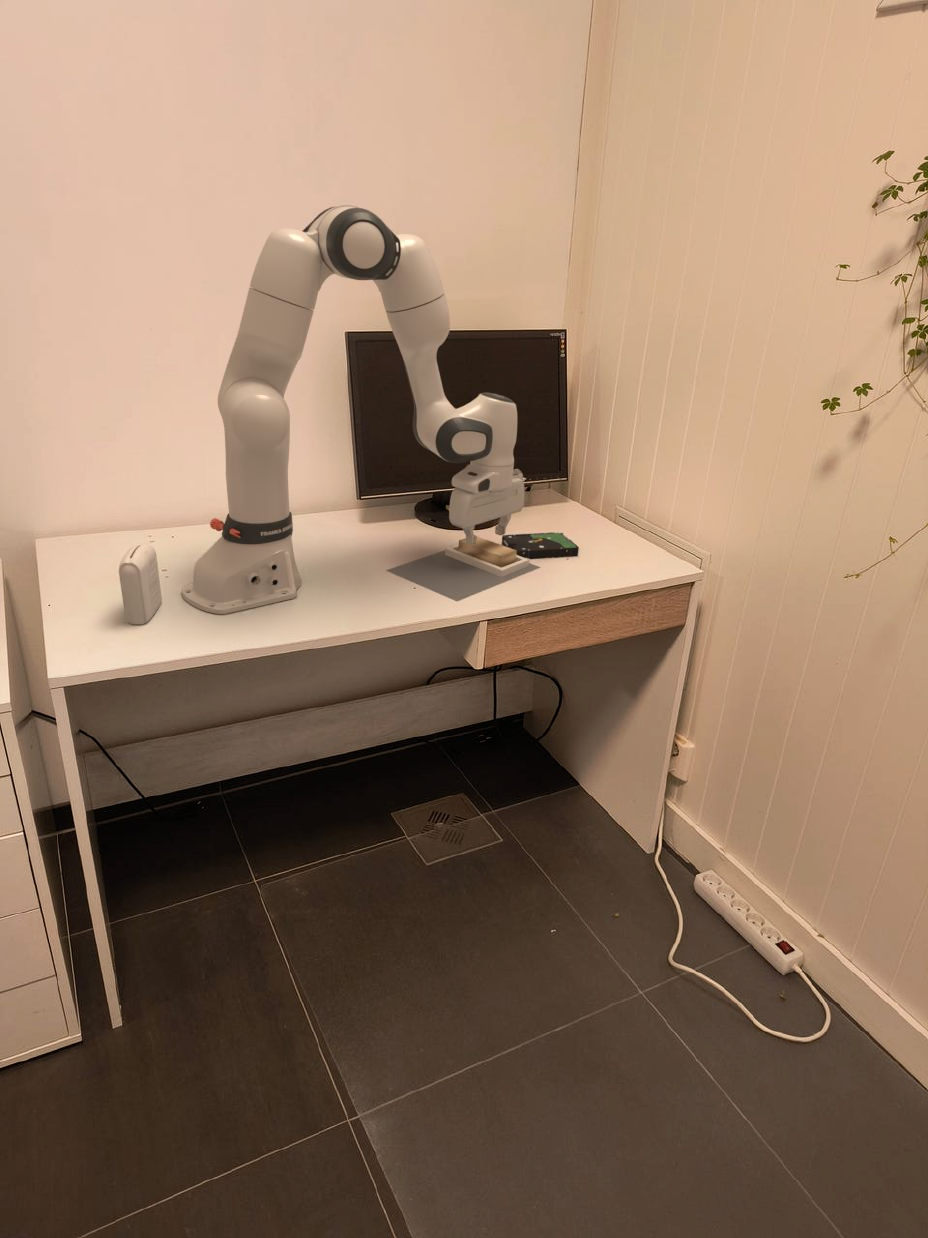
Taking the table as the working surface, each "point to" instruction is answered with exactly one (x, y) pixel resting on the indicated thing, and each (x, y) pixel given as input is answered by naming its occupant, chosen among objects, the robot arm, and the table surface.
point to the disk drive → (541, 545)
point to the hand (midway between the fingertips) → (485, 538)
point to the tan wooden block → (488, 552)
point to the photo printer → (140, 583)
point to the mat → (459, 573)
